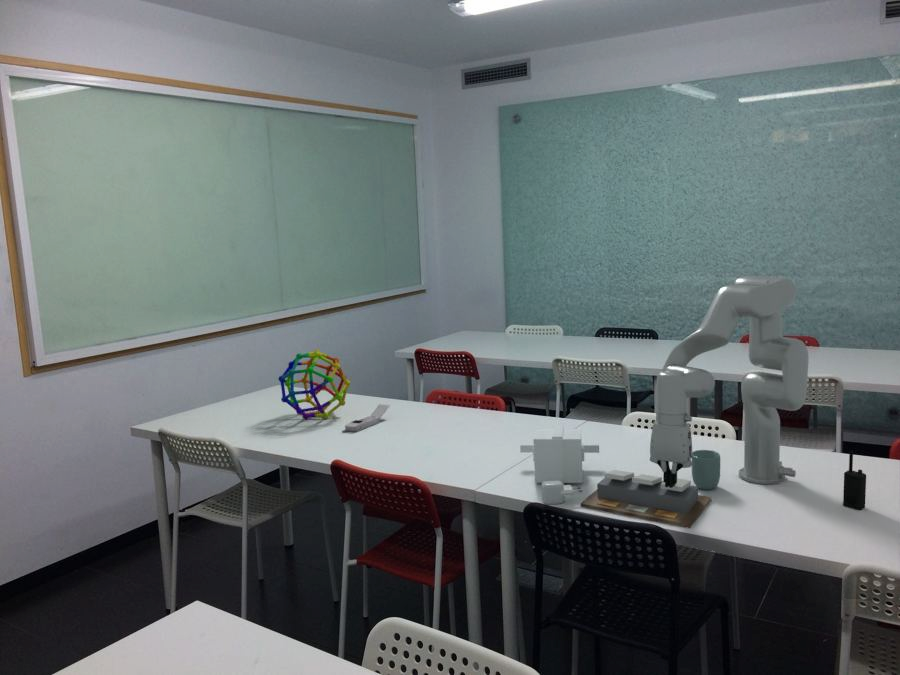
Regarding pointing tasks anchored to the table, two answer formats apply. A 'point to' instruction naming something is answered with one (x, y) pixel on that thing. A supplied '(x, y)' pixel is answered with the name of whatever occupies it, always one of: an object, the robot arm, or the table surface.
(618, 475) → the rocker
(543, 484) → the power adapter
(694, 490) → the switch housing
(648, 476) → the rocker
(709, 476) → the cup
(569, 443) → the blocky voxel creature
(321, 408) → the geometric model
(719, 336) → the robot arm
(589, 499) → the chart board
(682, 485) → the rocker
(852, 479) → the walkie-talkie
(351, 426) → the mobile phone
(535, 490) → the table surface
